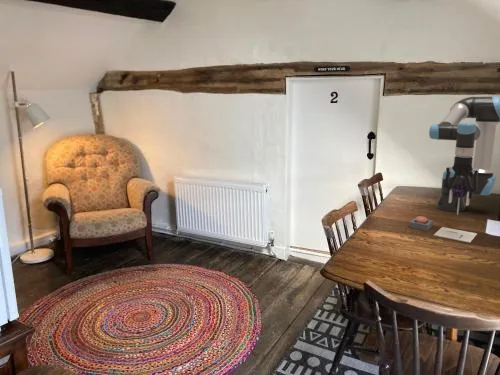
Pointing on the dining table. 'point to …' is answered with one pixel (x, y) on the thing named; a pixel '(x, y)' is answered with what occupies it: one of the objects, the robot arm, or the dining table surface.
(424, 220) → the button
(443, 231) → the paper pad
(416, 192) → the dining table surface
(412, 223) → the button housing
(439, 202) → the robot arm
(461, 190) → the lollipop
